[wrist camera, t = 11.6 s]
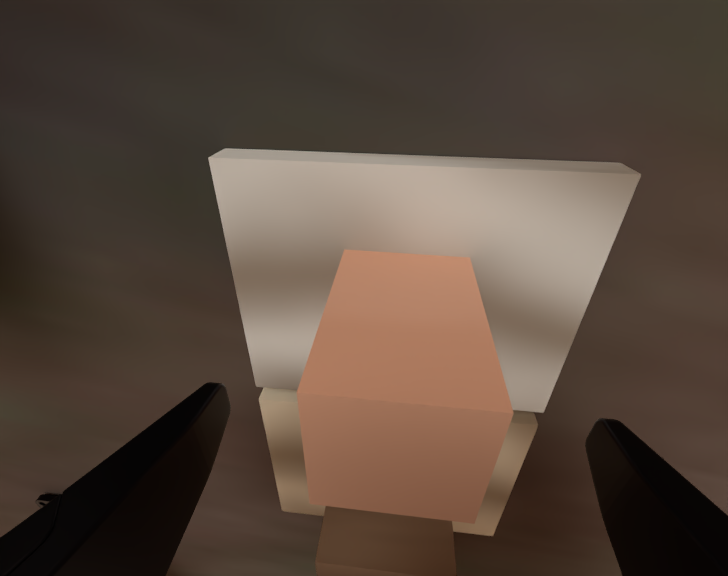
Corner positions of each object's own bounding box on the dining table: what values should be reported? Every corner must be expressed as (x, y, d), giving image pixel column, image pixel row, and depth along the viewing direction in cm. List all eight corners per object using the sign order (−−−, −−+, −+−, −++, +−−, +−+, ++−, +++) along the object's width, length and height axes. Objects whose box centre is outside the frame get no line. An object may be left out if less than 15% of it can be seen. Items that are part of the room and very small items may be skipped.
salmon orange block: (451, 352, 14) (474, 523, 9) (345, 343, 14) (309, 504, 9) (469, 257, 12) (513, 413, 7) (344, 249, 12) (296, 392, 7)
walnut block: (433, 507, 20) (439, 630, 16) (340, 496, 20) (322, 613, 16) (445, 450, 17) (457, 580, 13) (338, 439, 18) (315, 561, 13)
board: (489, 513, 22) (492, 536, 21) (287, 490, 23) (281, 511, 22) (619, 162, 11) (641, 174, 10) (225, 148, 12) (208, 157, 11)
